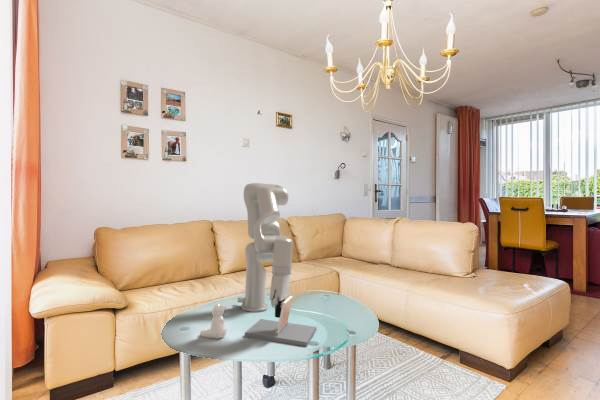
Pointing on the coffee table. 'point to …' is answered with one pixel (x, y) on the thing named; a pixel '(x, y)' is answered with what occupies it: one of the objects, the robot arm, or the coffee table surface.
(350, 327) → the coffee table surface
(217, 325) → the sitting furry creature
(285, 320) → the tile
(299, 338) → the board
